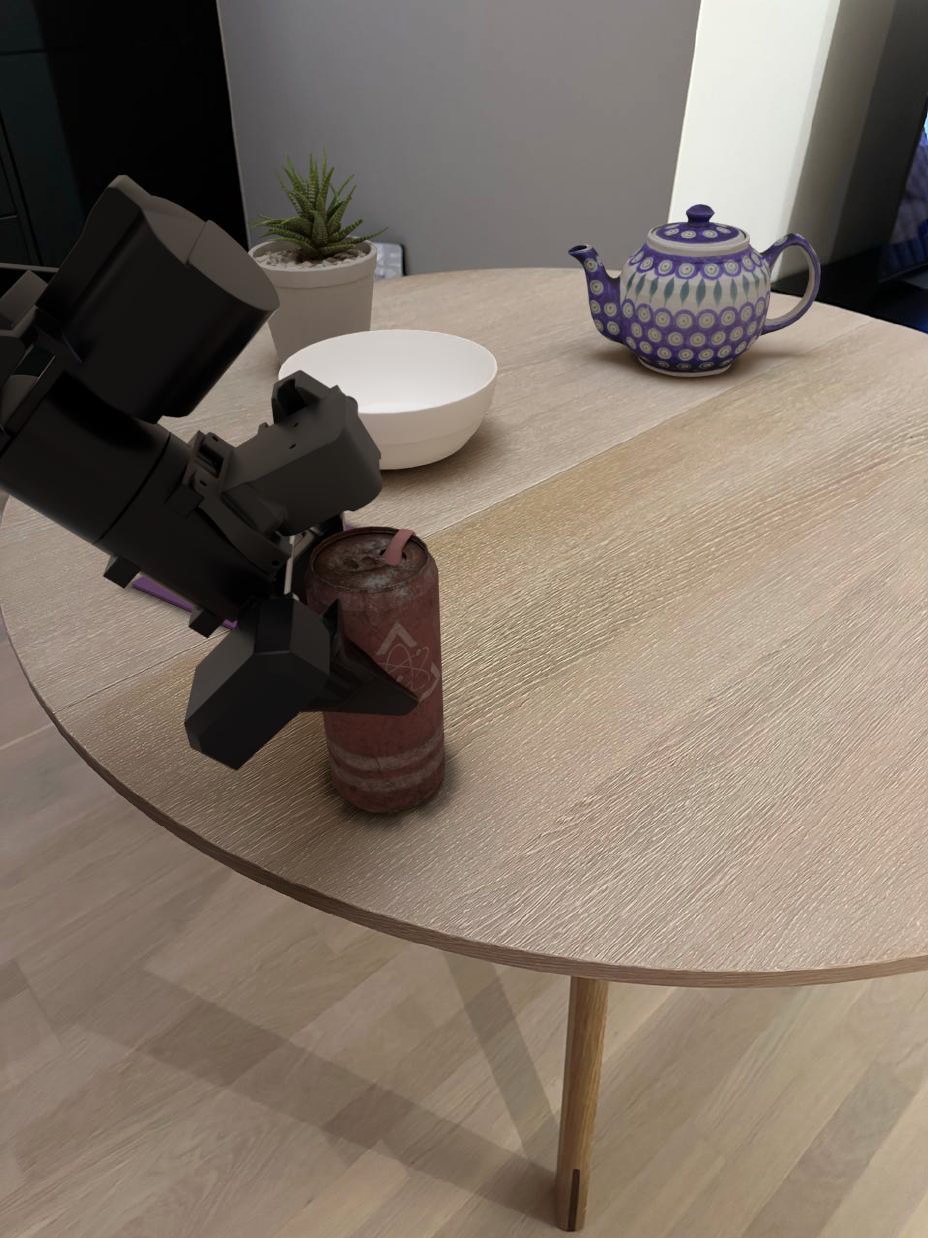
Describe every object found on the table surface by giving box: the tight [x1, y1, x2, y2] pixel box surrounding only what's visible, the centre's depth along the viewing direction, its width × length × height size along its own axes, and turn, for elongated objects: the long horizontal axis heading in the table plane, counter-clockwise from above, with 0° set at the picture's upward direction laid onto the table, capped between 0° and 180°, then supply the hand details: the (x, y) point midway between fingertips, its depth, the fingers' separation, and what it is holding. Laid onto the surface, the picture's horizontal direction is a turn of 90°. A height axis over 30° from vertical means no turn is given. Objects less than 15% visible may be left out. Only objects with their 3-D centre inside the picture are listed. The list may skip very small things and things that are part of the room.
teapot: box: [567, 203, 821, 378], centre depth 92 cm, size 25×15×15 cm, turn 87°
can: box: [304, 525, 446, 814], centre depth 46 cm, size 6×6×14 cm
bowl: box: [277, 328, 499, 470], centre depth 79 cm, size 18×18×7 cm
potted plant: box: [246, 147, 389, 366], centre depth 91 cm, size 13×14×20 cm
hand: (410, 670), depth 46 cm, fingers closed on can, 5 cm apart
